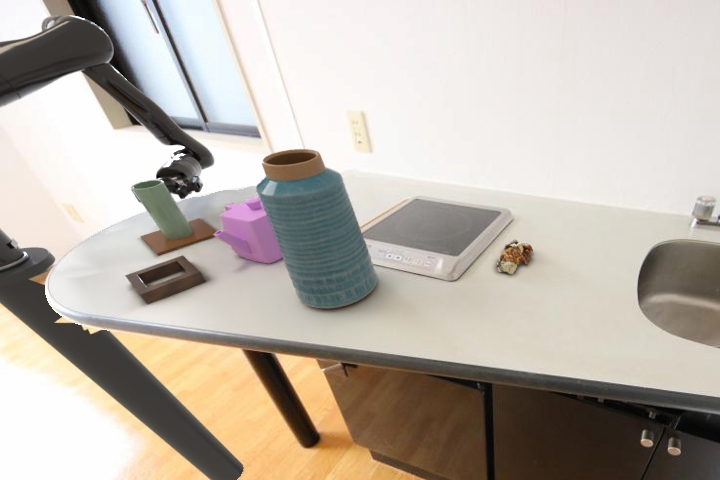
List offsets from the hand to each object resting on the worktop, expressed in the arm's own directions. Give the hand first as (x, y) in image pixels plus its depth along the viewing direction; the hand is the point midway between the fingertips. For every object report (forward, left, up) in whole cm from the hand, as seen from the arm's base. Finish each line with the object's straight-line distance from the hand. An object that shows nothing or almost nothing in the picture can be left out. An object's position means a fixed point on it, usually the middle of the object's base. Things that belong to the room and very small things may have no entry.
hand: (160, 197), depth 91 cm
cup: (-1, -2, -9) cm, 9 cm away
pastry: (+46, -78, -10) cm, 91 cm away
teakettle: (+12, -28, -10) cm, 32 cm away
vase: (+13, -56, -10) cm, 58 cm away
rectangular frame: (-10, -25, -10) cm, 29 cm away
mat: (-1, -2, -10) cm, 10 cm away
